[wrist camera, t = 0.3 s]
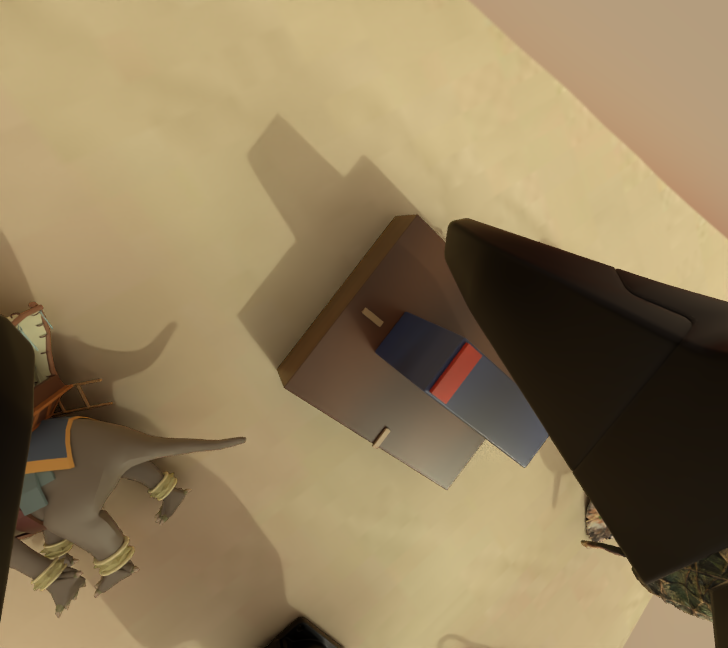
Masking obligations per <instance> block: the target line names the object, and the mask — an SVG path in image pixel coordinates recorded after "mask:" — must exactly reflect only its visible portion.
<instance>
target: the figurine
mask: <svg viewBox="0 0 728 648" xmlns="http://www.w3.org/2000/svg"><path fill="white" fill-rule="evenodd" d="M28 306H29V307H31V309H29V310H27V311H25V312H22V313H13V314H11V316H10V317H6V318H8V319H9V320H10V321H11V322H12V324H13V325H14V326H15V327H16V328H17V329H18V330H19V331H20V332H21V333H22V334H23V335H24V336H25V338H26V339H27V340H28V341H29V342H30V343H31V345H32V347H33V349H34V353H35V371H34V413H33V426H32V434H31V440H30V446H29V452H28V458H27V464H26V470H25V476H24V482H23V488H22V494H21V501H20V507H19V513H18V519H17V525H16V531H15V537H14V543H13V549H12V555H11V561H10V568H13V569H16V570H17V571H19V572H21V573H23V574H25V575H27V576H28V577H30V578H32V579H33V580H32V582H31V584H34V589H35V590H36V591H37V590H38V589H39V588H40V591H43V590H45V589H47V590H48V591H49V592H50V593H51V595H52V598H53V600H54V602H55V604H56V613H55V614H56V616H57V617H58V618H60V615H61V613H62V611H63V610H64V608H65V609H67V610H68V608H69V604H70V601H71V600H72V599H74V600H76V598H77V594H78V590H79V588H80V587H86V584H85V580H86V579H85V578H83V577H82V576H81V575H82V574H83V572H82V571H78V570H76V569H74V568H71V566H72V565H73V564H75V563H77V562H78V561H79V560H78V559H75V558H74V559H73V556H70V555H69V554H68V553H67V552H69V551H70V550H71V549H72V544H76V545H77V546H79V547H80V548H82V549H84V550H85V551H87V552H89V553H90V554H91V555H93V556H94V561H93V563H94V564H95V567H94V568H100V571H99V573H100V574H101V575H102V577H101V580H100V581H99V582H98V583H97V584H96V586H95V588H96V589H97V590H96V592H95V594H94V597H95V598H96V597H97V596H98V595H100V594H101V593H104V592H106V591H107V590H109V589H110V588H111V587H113V586H114V585H115V584H117V583H118V582H119V581H121V580H123V579H124V578H126V577H128V576H130V575H131V574H132V573H135V572H137V571H139V570H140V569H139V568H138V567H136V566H134V564H133V563H132V562H131V560H130V558H131V557H132V555H133V554H134V552H135V550H134V547H133V546H128V543H129V540H130V539H129V537H127V536H123V533H122V531H121V530H120V529H119V528H118V526H117V524H116V523H115V521H114V520H113V519H112V517H111V516H110V515H109V514H108V512H107V511H105V510H101V509H102V507H103V505H104V503H105V501H106V499H107V497H108V496H109V495H110V494H111V492H112V491H113V490H114V488H115V487H116V485H117V483H118V482H119V480H120V478H127V479H130V480H136V481H138V482H140V483H142V484H144V485H145V486H146V487H148V488H149V489H148V493H151V496H150V497H154V499H155V498H157V500H159V501H160V500H162V499H163V504H162V506H161V507H160V511H159V512H158V513H157V514H156V515H155V519H156V523H157V522H159V521H160V526H161V525H162V524H163V523H164V522H166V521H167V520H168V519H169V518H170V517H171V516H172V514H173V513H174V512H175V510H176V509H177V508H178V506H179V505H180V503H181V502H182V500H183V499H184V497H185V495H186V494H187V493H189V492H190V491H191V489H185V490H183V489H182V488H178V489H177V488H174V487H175V485H176V483H177V479H175V477H173V475H174V473H171V474H168V472H164V473H162V472H161V471H160V470H159V469H158V468H157V467H156V466H155V465H154V464H153V463H151V462H150V461H149V460H153V459H156V458H161V457H168V456H175V455H181V454H187V453H193V452H202V451H212V450H221V449H225V448H229V447H233V446H236V445H239V444H243V443H245V441H246V438H245V437H236V438H229V439H222V440H203V439H185V438H162V437H155V436H151V435H147V434H145V433H142V432H140V431H137V430H134V429H131V428H128V427H126V426H123V425H118V424H113V423H108V422H103V421H98V420H96V419H92V418H88V417H81V416H70V417H56V418H50V417H52V416H57V415H61V414H66V413H71V412H76V411H81V410H86V409H91V408H96V407H100V406H105V405H110V404H113V402H107V403H102V404H97V405H93V406H90V404H89V402H88V400H87V398H86V396H85V394H84V392H83V390H82V388H81V386H80V385H84V384H89V383H94V382H99V381H102V379H96V380H91V381H86V382H81V383H76V384H71V385H64V384H63V382H62V381H61V380H60V378H59V376H58V374H57V372H56V370H55V366H54V361H53V356H52V351H51V334H50V328H49V326H50V327H51V328H52V329H53V327H52V326H51V324H50V323H49V322H48V320H47V319H46V316H45V314H44V312H43V310H42V309H43V306H42V305H38V304H37V303H36V302H31V303H29V305H28ZM15 314H17V315H15ZM12 315H13V316H12ZM48 324H49V325H48ZM74 386H76V387H77V389H78V391H79V393H80V395H81V397H82V399H83V401H84V403H85V405H86V407H83V408H78V409H73V410H68V411H66V410H65V409H64V407H63V405H62V403H61V401H60V398H61V396H62V395H63V394H64V393H65V392H66V391H68V390H69V389H70V388H72V387H74ZM57 404H58V406H59V408H60V410H61V411H62V412H58V413H54V410H55V408H56V406H57ZM42 531H43V534H44V539H45V543H44V545H43V546H44V547H45V549H43V550H42V551H41V552H40V553H46V554H45V556H43V555H41V554H39V553H37V552H36V551H34V550H33V549H31V548H30V547H28V546H27V545H26V544H24V543H23V542H22V541H20V540H21V539H24V538H27V537H30V536H32V535H34V534H36V533H39V532H42ZM34 589H33V590H34ZM35 590H34V591H35Z"/></svg>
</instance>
